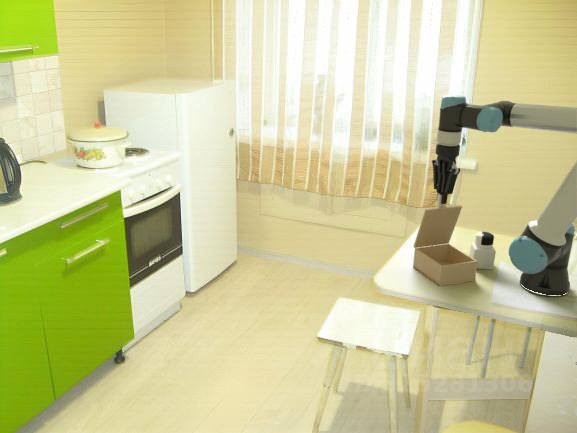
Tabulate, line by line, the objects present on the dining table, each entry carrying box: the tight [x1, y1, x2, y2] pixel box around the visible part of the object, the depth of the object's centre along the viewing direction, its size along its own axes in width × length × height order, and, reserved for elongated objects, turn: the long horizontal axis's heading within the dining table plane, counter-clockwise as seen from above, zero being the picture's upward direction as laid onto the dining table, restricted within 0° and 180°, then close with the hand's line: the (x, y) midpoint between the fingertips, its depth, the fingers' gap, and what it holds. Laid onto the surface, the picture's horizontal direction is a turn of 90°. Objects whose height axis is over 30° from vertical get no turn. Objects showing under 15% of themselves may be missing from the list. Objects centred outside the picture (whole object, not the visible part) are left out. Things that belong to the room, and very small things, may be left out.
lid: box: [413, 204, 463, 249], centre depth 209 cm, size 16×14×1 cm
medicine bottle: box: [469, 231, 497, 271], centre depth 214 cm, size 7×7×12 cm
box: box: [412, 243, 478, 287], centre depth 208 cm, size 16×14×7 cm
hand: (440, 211), depth 207 cm, fingers closed
